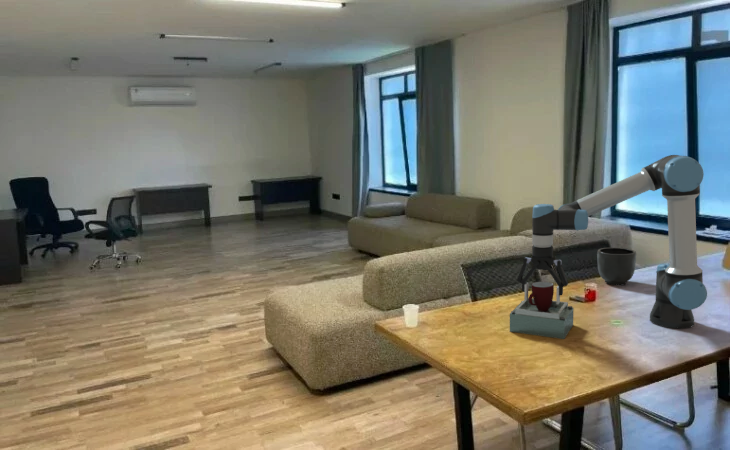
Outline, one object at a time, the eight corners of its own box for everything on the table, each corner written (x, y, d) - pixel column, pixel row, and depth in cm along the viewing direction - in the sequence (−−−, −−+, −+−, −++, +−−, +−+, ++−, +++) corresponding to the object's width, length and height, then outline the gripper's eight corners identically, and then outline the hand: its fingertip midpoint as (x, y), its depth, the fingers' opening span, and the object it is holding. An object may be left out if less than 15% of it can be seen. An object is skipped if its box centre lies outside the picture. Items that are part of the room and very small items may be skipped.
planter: (592, 278, 286) (593, 247, 284) (628, 278, 284) (629, 247, 281) (601, 287, 269) (602, 254, 267) (640, 287, 267) (641, 254, 265)
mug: (540, 315, 212) (539, 290, 210) (523, 311, 218) (522, 286, 217) (559, 309, 217) (558, 284, 215) (542, 304, 224) (541, 280, 222)
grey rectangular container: (573, 324, 221) (573, 302, 219) (564, 339, 206) (564, 315, 205) (521, 318, 231) (521, 296, 229) (509, 331, 216) (509, 308, 215)
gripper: (577, 245, 211) (576, 302, 214) (514, 241, 222) (514, 295, 226) (573, 249, 204) (572, 307, 208) (508, 245, 216) (508, 300, 220)
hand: (542, 301), depth 217 cm, fingers open, 11 cm apart
